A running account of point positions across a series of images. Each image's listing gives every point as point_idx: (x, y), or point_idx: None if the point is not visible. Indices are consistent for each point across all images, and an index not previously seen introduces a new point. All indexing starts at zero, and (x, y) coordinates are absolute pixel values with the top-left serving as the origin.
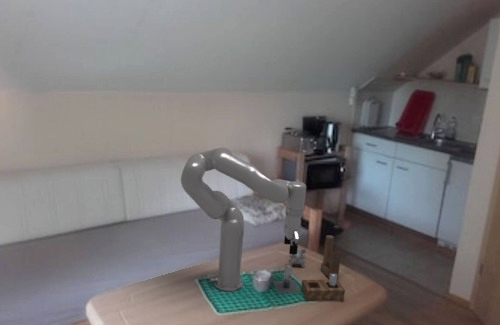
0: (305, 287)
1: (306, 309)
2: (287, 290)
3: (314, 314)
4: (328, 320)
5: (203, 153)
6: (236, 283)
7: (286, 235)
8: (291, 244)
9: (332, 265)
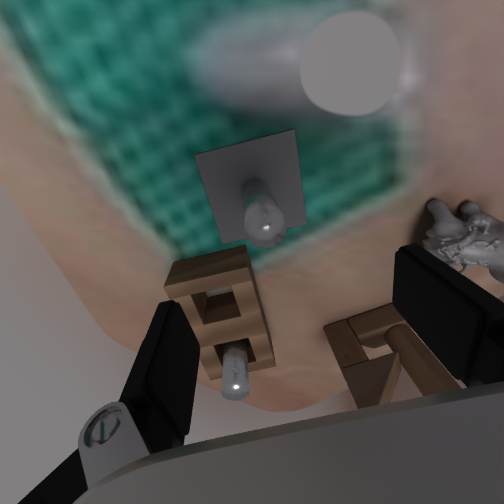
0: (195, 276)
1: (123, 262)
2: (225, 197)
3: (104, 283)
4: (92, 316)
5: None
6: None
7: (230, 501)
8: (110, 422)
9: (345, 371)
